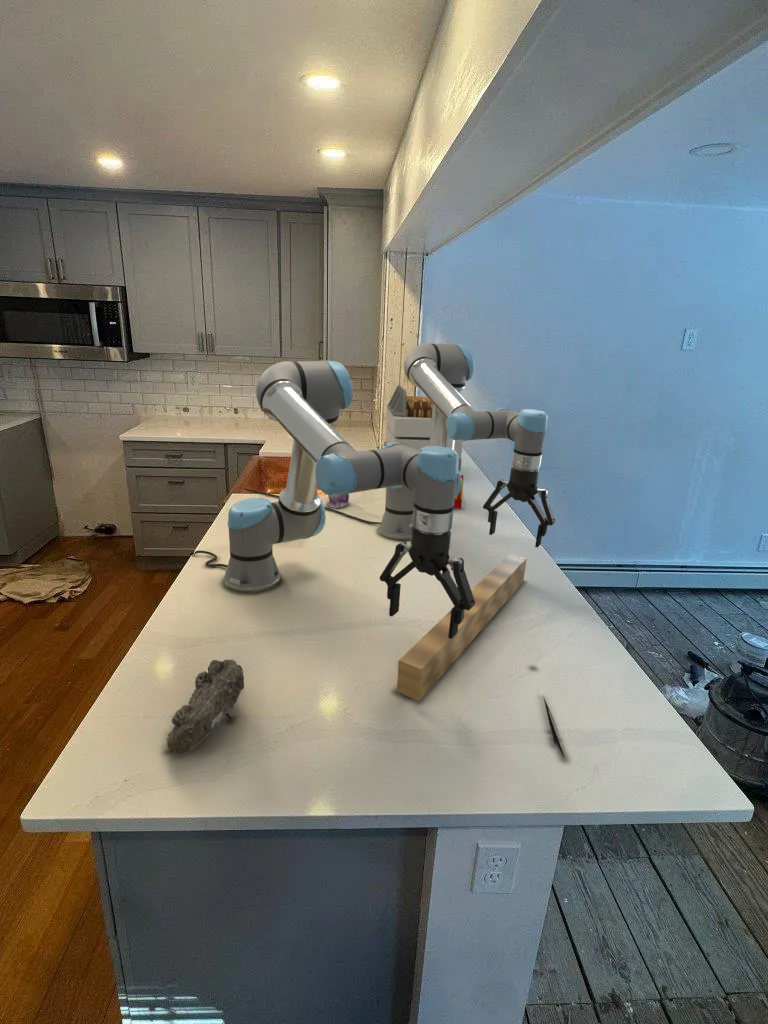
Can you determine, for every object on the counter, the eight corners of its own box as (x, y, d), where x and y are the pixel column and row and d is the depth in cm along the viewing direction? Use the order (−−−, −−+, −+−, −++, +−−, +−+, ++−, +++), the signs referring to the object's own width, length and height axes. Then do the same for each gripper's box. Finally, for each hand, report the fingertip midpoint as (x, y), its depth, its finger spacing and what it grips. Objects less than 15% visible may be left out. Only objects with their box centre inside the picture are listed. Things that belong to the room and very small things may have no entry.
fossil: (192, 660, 117) (244, 628, 112) (224, 691, 120) (276, 661, 115) (142, 746, 98) (202, 712, 93) (182, 779, 101) (242, 748, 96)
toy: (456, 466, 252) (467, 476, 223) (454, 496, 255) (465, 509, 225) (428, 465, 252) (437, 475, 222) (427, 495, 254) (435, 508, 225)
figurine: (332, 510, 220) (332, 472, 215) (322, 501, 228) (322, 465, 223) (354, 507, 224) (355, 470, 219) (343, 499, 232) (344, 463, 227)
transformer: (382, 463, 289) (386, 382, 275) (445, 464, 293) (451, 384, 279) (390, 482, 257) (394, 392, 243) (460, 483, 261) (468, 394, 247)
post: (506, 577, 171) (509, 553, 168) (523, 581, 168) (526, 558, 166) (396, 691, 118) (398, 660, 115) (419, 701, 115) (421, 669, 112)
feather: (533, 672, 128) (539, 666, 127) (564, 762, 101) (571, 754, 101) (527, 668, 128) (533, 662, 127) (556, 757, 101) (563, 750, 100)
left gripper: (366, 518, 111) (361, 612, 118) (485, 552, 99) (471, 654, 107) (386, 507, 117) (380, 597, 124) (500, 538, 105) (486, 636, 113)
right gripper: (477, 461, 156) (468, 532, 164) (568, 480, 144) (554, 555, 152) (487, 456, 162) (478, 524, 170) (575, 474, 151) (561, 546, 158)
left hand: (422, 624), depth 116 cm, fingers open, 13 cm apart
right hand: (514, 539), depth 161 cm, fingers open, 13 cm apart
